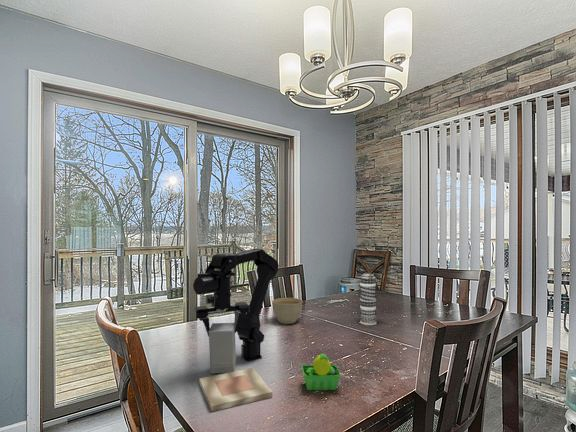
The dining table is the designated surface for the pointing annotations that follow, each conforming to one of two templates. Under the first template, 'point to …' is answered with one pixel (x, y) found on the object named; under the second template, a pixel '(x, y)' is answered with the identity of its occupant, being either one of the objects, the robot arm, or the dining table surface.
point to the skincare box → (222, 347)
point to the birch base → (234, 389)
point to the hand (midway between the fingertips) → (222, 334)
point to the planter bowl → (287, 309)
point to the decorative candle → (368, 299)
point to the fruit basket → (321, 374)
